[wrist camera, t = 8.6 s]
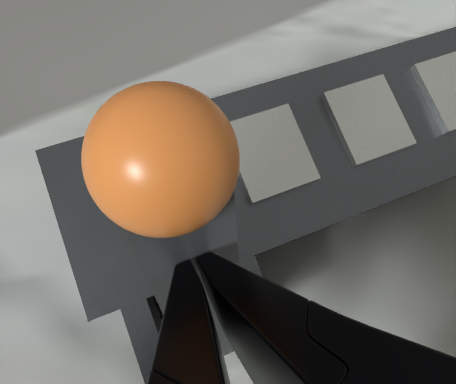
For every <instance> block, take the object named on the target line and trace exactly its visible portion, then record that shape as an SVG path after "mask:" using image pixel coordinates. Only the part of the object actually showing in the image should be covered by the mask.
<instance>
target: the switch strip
mask: <svg viewBox="0 0 456 384" xmlns="http://www.w3.org/2000/svg"><path fill="white" fill-rule="evenodd" d="M211 100H212V101H213V102H214V103H215V104H216V105H217V106H219V108H220V109H221V110H222V111H223V113H224V114H225V115H226V117H227V118H228V120H229V122H230V124H231V126H232V127H233V129H234V132H235V135H236V138H237V141H238V146H239V153H240V168H239V175H238V179H237V183H236V187H235V189H234V193H235V209H236V224H237V240H238V255H239V266H241V267H243V268H245V269H247V270H249V271H251V272H253V273H255V274H257V275H259V276H261V277H263V275H262V272H261V270H260V267H259V265H258V262H257V260H256V257H255V255H257V254H260V253H262V252H265V251H267V250H270V249H272V248H275V247H277V246H280V245H282V244H285V243H287V242H290V241H292V240H295V239H297V238H300V237H302V236H305V235H308V234H310V233H313V232H315V231H318V230H320V229H323V228H325V227H328V226H330V225H333V224H335V223H338V222H340V221H343V220H345V219H348V218H350V217H353V216H355V215H358V214H360V213H363V212H366V211H368V210H371V209H373V208H376V207H378V206H381V205H383V204H386V203H388V202H391V201H393V200H396V199H398V198H401V197H403V196H406V195H408V194H411V193H413V192H416V191H418V190H421V189H424V188H426V187H429V186H431V185H434V184H436V183H439V182H441V181H444V180H446V179H449V178H451V177H454V176H456V27H454V28H450V29H447V30H443V31H440V32H437V33H433V34H430V35H426V36H423V37H420V38H416V39H413V40H409V41H406V42H403V43H399V44H396V45H392V46H389V47H386V48H382V49H379V50H375V51H372V52H369V53H365V54H362V55H358V56H355V57H352V58H348V59H345V60H341V61H338V62H335V63H331V64H328V65H324V66H321V67H318V68H314V69H311V70H307V71H304V72H301V73H297V74H294V75H290V76H287V77H284V78H280V79H277V80H273V81H270V82H267V83H263V84H260V85H257V86H253V87H250V88H246V89H243V90H240V91H236V92H233V93H229V94H226V95H223V96H219V97H216V98H212V99H211ZM83 140H84V136H83V137H80V138H76V139H73V140H70V141H66V142H63V143H59V144H56V145H53V146H49V147H46V148H42V149H39V150H36V154H37V157H38V161H39V164H40V167H41V170H42V174H43V177H44V180H45V183H46V186H47V190H48V193H49V196H50V199H51V203H52V206H53V209H54V212H55V216H56V219H57V222H58V225H59V228H60V232H61V235H62V238H63V241H64V245H65V248H66V251H67V254H68V257H69V261H70V264H71V267H72V270H73V274H74V277H75V280H76V283H77V287H78V290H79V293H80V296H81V299H82V303H83V306H84V309H85V312H86V316H87V319H88V321H91V320H93V319H96V318H98V317H101V316H103V315H106V314H108V313H111V312H113V311H116V310H118V309H121V312H122V315H123V318H124V321H125V324H126V327H127V330H128V333H129V336H130V339H131V342H132V345H133V348H134V351H135V355H136V358H137V361H138V364H139V367H140V370H141V373H142V376H143V379H144V382H145V384H147V381H148V376H149V372H150V371H151V365H152V361H153V357H154V353H155V348H156V344H157V340H158V335H159V331H160V327H161V323H162V322H161V319H160V316H159V313H158V310H157V307H156V304H155V301H154V298H153V296H154V294H153V292H152V289H151V287H150V285H149V283H148V281H147V279H146V276H145V274H144V272H143V270H142V268H141V266H140V263H139V261H138V259H137V257H136V255H135V253H134V250H133V248H132V246H131V244H130V242H129V240H128V238H127V235H126V233H125V231H124V229H123V228H122V227H120V226H119V225H117V224H116V223H114V222H113V221H112V220H110V219H109V218H108V217H107V216H106V215H105V214H104V213H103V212H102V211H101V210H100V209H99V207H98V206H97V205H96V203H95V202H94V200H93V199H92V197H91V195H90V193H89V191H88V189H87V186H86V184H85V181H84V177H83V172H82V165H81V152H82V145H83ZM263 278H264V277H263Z"/></svg>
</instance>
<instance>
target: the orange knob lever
mask: <svg viewBox="0 0 456 384" xmlns="http://www.w3.org/2000/svg"><path fill="white" fill-rule="evenodd" d="M81 165H82V172H83V177H84V181H85V184H86V186H87V189H88V191H89V193H90V195H91V197H92V199H93V200H94V202H95V203H96V205H97V206H98V207H99V209H100V210H101V211H102V212H103V213H104V214H105V215H106V216H107V217H108V218H109V219H110V220H112V221H113V222H114V223H116V224H117V225H119V226H120V227H122V228H123V229H124V231H125V233H126V235H127V238H128V240H129V242H130V244H131V246H132V248H133V250H134V253H135V255H136V257H137V259H138V261H139V263H140V266H141V268H142V270H143V272H144V274H145V276H146V279H147V281H148V283H149V285H150V287H151V289H152V292H153V294H154V296H155V298H156V300H157V302H158V305H159V307H160V309H161V311H162V313H163V314H164V310H165V306H166V301H167V297H168V293H169V289H170V284H171V280H172V276H173V271H174V267H175V265H177V264H179V263H182V262H184V261H187V260H190V261H191V262H192V264H193V266H194V268H195V270H196V272H197V274H198V276H199V278H200V280H201V282H202V284H203V281H202V278H201V275H200V271H199V268H198V264H197V260H196V258H197V257H198V256H200V255H202V254H205V253H207V252H212V253H214V254H216V255H219V256H221V257H223V258H225V259H227V260H229V261H231V262H233V263H235V264H237V265H239V255H238V240H237V224H236V209H235V193H234V189H235V187H236V183H237V179H238V175H239V168H240V153H239V146H238V141H237V138H236V135H235V132H234V129H233V127H232V126H231V124H230V122H229V120H228V118H227V117H226V115H225V114H224V113H223V111H222V110H221V109H220V108H219V106H217V105H216V104H215V103H214V102H213V101H212V100H211V99H210V98H209V97H207V96H206V95H204V94H203V93H201V92H199V91H197V90H196V89H194V88H191V87H189V86H186V85H183V84H179V83H175V82H169V81H151V82H144V83H140V84H136V85H133V86H131V87H128V88H126V89H124V90H122V91H120V92H118V93H117V94H115V95H114V96H112V97H111V98H110V99H109V100H108V101H106V102H105V103H104V104H103V105H102V106H101V107H100V108H99V110H98V111H97V112H96V114H95V115H94V117H93V118H92V120H91V121H90V124H89V126H88V128H87V131H86V133H85V136H84V140H83V145H82V152H81ZM203 286H204V284H203ZM204 289H205V287H204ZM205 292H206V289H205ZM206 296H207V299H208V303H209V306H210V310H211V313H212V317H213V320H214V323H215V327H216V330H217V334H218V337H219V341H220V344H221V348H222V352H223V356H224V355H226V354H229V353H231V352H233V351H234V349H233V348H232V346H231V344H230V343H229V341H228V339H227V337H226V336H225V334H224V332H223V330H222V327H221V325H220V323H219V321H218V318H217V316H216V313H215V311H214V309H213V306H212V304H211V301H210V299H209V297H208V294H207V292H206Z"/></svg>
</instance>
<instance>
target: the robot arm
mask: <svg viewBox="0 0 456 384" xmlns="http://www.w3.org/2000/svg"><path fill="white" fill-rule="evenodd" d="M196 260H197V264H198V268H199V271H200V275H201V278H202V281H203V284H204V286H203V284H202V282H201V280H200V278H199V276H198V274H197V272H196V270H195V268H194V266H193V264H192V262H191V261H190V260H187V261H184V262H182V263H179V264H177V265H175V267H174V271H173V276H172V280H171V284H170V289H169V293H168V297H167V301H166V306H165V310H164V314H163V318H162V323H161V327H160V331H159V335H158V340H157V344H156V348H155V353H154V357H153V361H152V365H151V371H150V372H149V376H148V381H147V384H230V380H229V376H228V372H227V368H226V364H225V360H224V356H223V352H222V348H221V344H220V341H219V337H218V334H217V330H216V327H215V323H214V320H213V317H212V313H211V310H210V306H209V303H208V299H207V296H206V292H207V294H208V297H209V299H210V301H211V304H212V306H213V309H214V311H215V313H216V316H217V318H218V321H219V323H220V325H221V327H222V330H223V332H224V334H225V336H226V337H227V339H228V341H229V343H230V344H231V346H232V348H233V349H234V351H235V353H236V354H237V356H238V358H239V359H240V361H241V363H242V365H243V366H244V368H245V370H246V371H247V373H248V375H249V376H250V378H251V380H252V381H253V383H254V384H456V357H453V356H450V355H447V354H445V353H442V352H439V351H437V350H434V349H431V348H428V347H426V346H423V345H420V344H417V343H415V342H412V341H409V340H407V339H404V338H401V337H398V336H396V335H393V334H390V333H387V332H385V331H382V330H379V329H377V328H374V327H371V326H368V325H366V324H363V323H361V322H358V321H356V320H353V319H351V318H348V317H346V316H343V315H341V314H339V313H337V312H334V311H332V310H330V309H328V308H326V307H323V306H321V305H319V304H317V303H315V302H313V301H309V300H308V299H306V298H304V297H302V296H300V295H298V294H296V293H294V292H292V291H290V290H288V289H286V288H284V287H282V286H280V285H278V284H275V283H273V282H271V281H269V280H267V279H265V278H263V277H261V276H259V275H257V274H255V273H253V272H251V271H249V270H247V269H245V268H243V267H241V266H239V265H237V264H235V263H233V262H231V261H229V260H227V259H225V258H223V257H221V256H219V255H216V254H214V253H212V252H207V253H205V254H202V255H200V256H198V257H197V258H196ZM204 287H205V289H206V292H205V289H204Z"/></svg>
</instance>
